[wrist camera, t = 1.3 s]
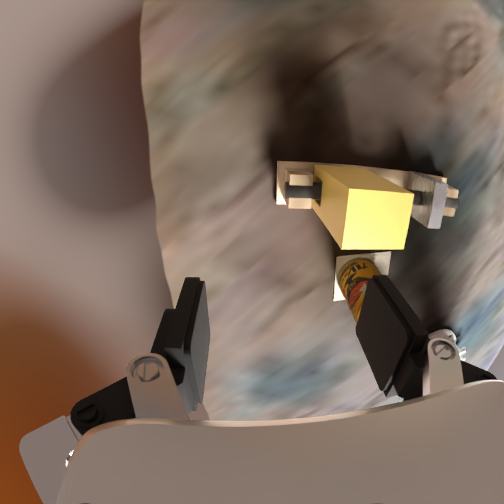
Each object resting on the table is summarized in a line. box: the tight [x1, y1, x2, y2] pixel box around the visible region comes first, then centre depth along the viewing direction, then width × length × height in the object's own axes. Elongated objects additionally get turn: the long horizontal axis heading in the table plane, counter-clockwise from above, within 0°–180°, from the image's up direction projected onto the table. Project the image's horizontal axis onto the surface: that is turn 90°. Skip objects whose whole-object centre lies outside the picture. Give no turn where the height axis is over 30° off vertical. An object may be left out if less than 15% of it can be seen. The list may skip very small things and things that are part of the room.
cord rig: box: [276, 161, 459, 217], centre depth 31 cm, size 24×5×5 cm, turn 89°
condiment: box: [334, 251, 391, 323], centre depth 34 cm, size 7×8×12 cm
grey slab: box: [407, 171, 448, 229], centre depth 30 cm, size 2×5×6 cm, turn 0°
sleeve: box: [312, 165, 414, 249], centre depth 26 cm, size 6×5×11 cm
